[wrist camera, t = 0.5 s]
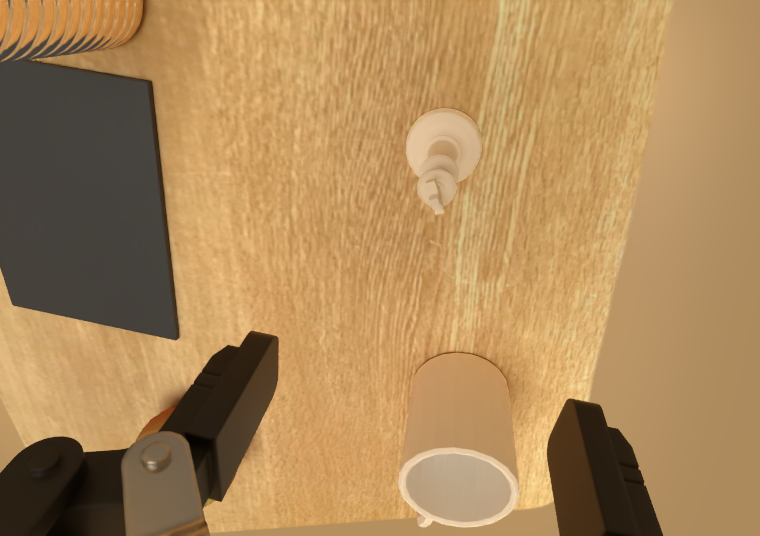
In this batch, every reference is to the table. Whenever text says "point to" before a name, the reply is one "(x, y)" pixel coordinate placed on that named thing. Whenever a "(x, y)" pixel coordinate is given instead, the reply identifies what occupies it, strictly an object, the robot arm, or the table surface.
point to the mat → (83, 198)
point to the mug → (459, 444)
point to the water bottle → (64, 26)
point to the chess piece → (442, 154)
